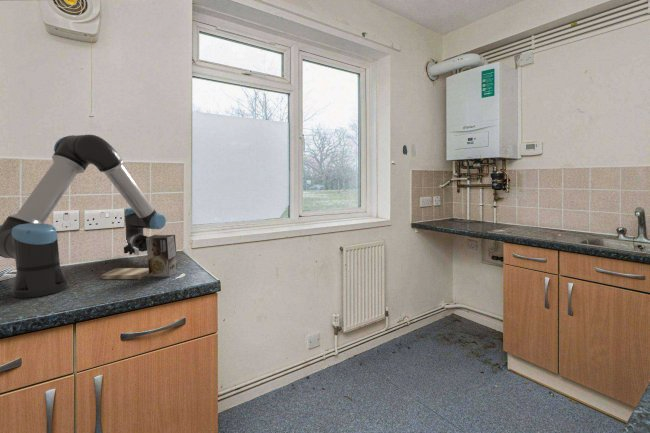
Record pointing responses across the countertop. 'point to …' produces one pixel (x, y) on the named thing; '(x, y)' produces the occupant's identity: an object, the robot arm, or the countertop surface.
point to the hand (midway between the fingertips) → (155, 249)
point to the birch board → (126, 273)
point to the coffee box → (161, 255)
